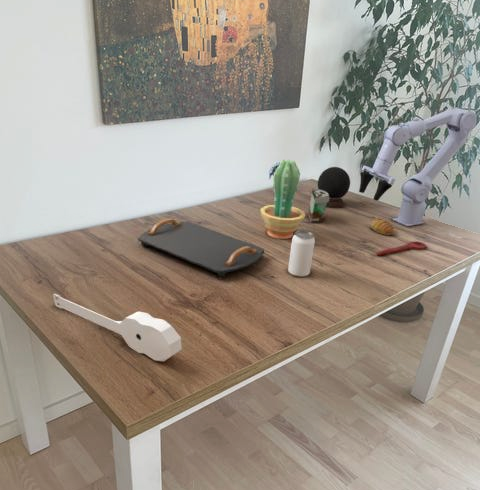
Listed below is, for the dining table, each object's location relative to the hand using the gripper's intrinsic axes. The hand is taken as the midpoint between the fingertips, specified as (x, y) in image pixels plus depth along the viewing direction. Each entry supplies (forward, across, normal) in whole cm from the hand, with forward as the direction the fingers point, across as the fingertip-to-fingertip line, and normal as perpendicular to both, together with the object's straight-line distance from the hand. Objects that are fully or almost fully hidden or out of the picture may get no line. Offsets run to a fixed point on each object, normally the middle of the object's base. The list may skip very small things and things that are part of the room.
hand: (368, 196), depth 178 cm
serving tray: (+28, +1, -65) cm, 71 cm away
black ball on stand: (+11, -22, +7) cm, 26 cm away
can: (+21, +25, -46) cm, 56 cm away
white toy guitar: (+35, +32, -102) cm, 113 cm away
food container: (+15, -9, -10) cm, 20 cm away
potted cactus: (+20, -2, -33) cm, 38 cm away
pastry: (+9, +10, +4) cm, 14 cm away
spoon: (+10, +26, -4) cm, 28 cm away
